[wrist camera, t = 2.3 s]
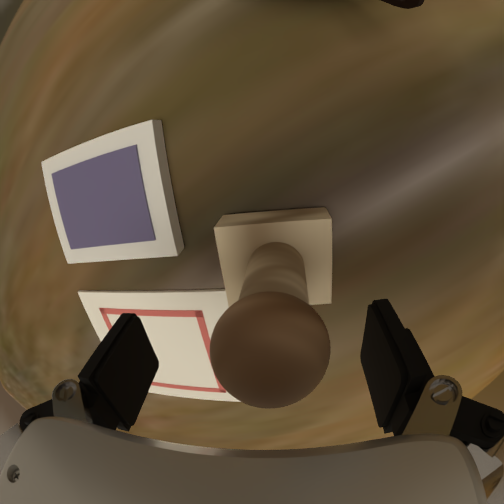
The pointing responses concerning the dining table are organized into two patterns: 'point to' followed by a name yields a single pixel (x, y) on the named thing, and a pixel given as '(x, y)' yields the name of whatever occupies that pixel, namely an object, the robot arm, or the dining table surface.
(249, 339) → the stamp
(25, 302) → the dining table surface
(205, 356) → the paper sheet
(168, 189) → the ink pad
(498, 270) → the dining table surface
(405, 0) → the coffee mug
